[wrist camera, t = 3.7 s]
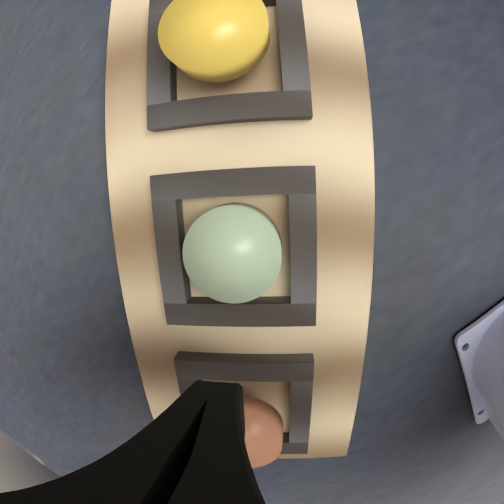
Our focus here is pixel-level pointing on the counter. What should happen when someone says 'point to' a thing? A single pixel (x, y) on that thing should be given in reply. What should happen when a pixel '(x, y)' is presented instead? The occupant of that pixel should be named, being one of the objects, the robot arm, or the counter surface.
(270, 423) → the terracotta button
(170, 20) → the mustard button
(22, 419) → the counter surface
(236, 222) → the sage button
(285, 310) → the button console
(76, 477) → the robot arm
